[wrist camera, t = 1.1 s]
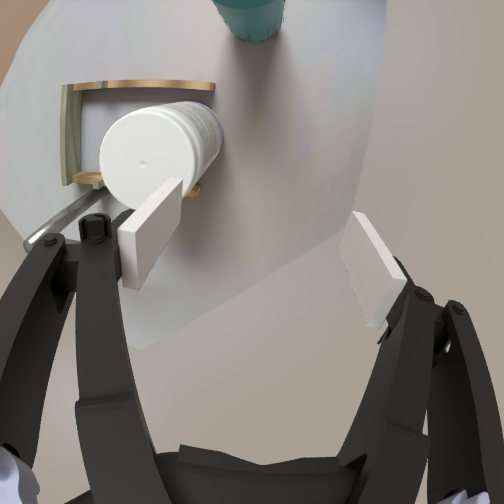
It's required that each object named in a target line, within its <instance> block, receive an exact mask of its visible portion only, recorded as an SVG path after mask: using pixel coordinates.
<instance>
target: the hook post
mask: <svg viewBox="0 0 504 504" xmlns="http://www.w3.org/2000/svg"><path fill="white" fill-rule="evenodd" d="M108 193H109V190H108V188H107V187H106V186H103V187H101V188H100V189H92V190H90V191H89V192H87V193H86V194H84V195H83V196H81V197H80V198H79V199H77V200H76V201H74V202H73V203H72V204H70V205H69V206H67V207H66V208H65V209H63V210H62V211H61V212H59V213H58V214H57V215H55V216H54V217H53V218H52V219H50V220H49V221H48V222H46V223H45V224H44V225H43V226H41V227H40V228H39V229H38V230H37V231H35V232H34V233H33V234H32V235H30V236H29V237H28V238H27V239H26V240H25V241H24V242H23V246H24V249H25V251H26V252H27V254H29V252H30V251H31V250H32V248H33V247H34V245H35V244H36V242H37V241H38V240H39V239H40V238H41V237H43V236H44V235H46V234H49V233H59V232H61V231H62V230H63V229H64V228H65V227H66V226H68V225H69V224H70V223H71V222H72V221H74V220H75V219H76V218H77V217H78V216H80V215H81V214H82V213H83V212H85V211H86V210H87V209H88V208H90V207H91V206H92V205H93V204H95V203H96V202H97V201H99V200H100V199H101V198H103V197H104V196H105V195H107V194H108ZM65 241H66V244H78V243H81V242H80V241H75V240H71V239H66V238H65Z"/></svg>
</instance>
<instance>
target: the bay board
mask: <svg viewBox="0 0 504 504" xmlns="http://www.w3.org/2000/svg"><path fill="white" fill-rule="evenodd" d="M214 86H215V83H211V82H199V81H183V80H115V81H96V82H88V83H79V84H69V85H62V97H61V116H60V157H61V177H62V185H63V186H68V185H69V184H71V183H82V184H92V185H93V189H100V188H101V187H103V186H106V185H105V183H104V180H103V178H102V175H101V173H94V172H82V171H81V153H80V140H81V110H82V96H83V90H87V89H100V88H120V87H164V88H185V89H199V90H210V91H214ZM200 190H201V185H197V184H195V185H194V187H193V188H192V189H191V190H190V192H189V193H188V194H187V195H186V197H192V198H196V197H197V196H198V195H199V193H200Z"/></svg>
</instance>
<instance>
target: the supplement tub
mask: <svg viewBox="0 0 504 504" xmlns="http://www.w3.org/2000/svg"><path fill="white" fill-rule="evenodd" d="M222 139H223V133H222V127H221V124H220V121H219V119H218V118H217V116H216V115H215V113H214V112H213V111H212V110H211V109H209V108H208V107H206V106H205V105H203V104H200V103H197V102H191V101H184V102H176V103H170V104H163V105H157V106H152V107H147V108H143V109H139V110H137V111H134V112H132V113H130V114H128V115H126V116H124V117H122V118H121V119H119V120H118V121H117V122H115V123H114V124H113V125H112V126H111V128H110V129H109V130H108V132H107V133H106V135H105V137H104V139H103V142H102V145H101V149H100V155H99V163H100V171H101V175H102V178H103V180H104V183H105V185H106V187H107V188H108V190H109V191H110V193H111V194H112V195H113V196H114V197H115V198H116V199H117V200H118V201H119V202H120V203H122V204H123V205H125V206H127V207H129V208H131V209H134V210H137V209H138V208H139V207H140V206H141V205H142V204H143V203H144V202H145V201H146V200H147V199H148V198H149V197H150V196H151V195H152V194H153V193H154V192H155V191H156V190H157V189H158V188H160V187H161V186H162V185H163V184H164V183H165V182H166V181H167V180H168V179H169V178H170V177H173V178H180V179H183V189H182V199H183V198H184V197H185V196H186V195H187V194H188V193H189V192H190V190H191V189H192V188H193V187H194V185H195V184H196V183H197V181H198V180H199V179H200V177H201V176H202V175H203V173H204V172H205V171H206V169H207V168H208V167H209V166H210V164H211V163H212V162H213V160H214V159H215V158H216V157H217V155H218V153H219V151H220V149H221V145H222Z"/></svg>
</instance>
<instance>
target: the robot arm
mask: <svg viewBox="0 0 504 504" xmlns="http://www.w3.org/2000/svg"><path fill="white" fill-rule="evenodd" d="M182 189H183V179H180V178H173V177H170V178H169V179H168V180H167V181H166V182H165V183H164V184H163V185H162V186H161V187H160V188H158V189H157V190H156V191H155V192H154V193H153V194H152V195H151V196H150V197H149V198H148V199H147V200H146V201H145V202H144V203H143V204H142V205H141V206H140V207H139V208H138V209H137V210H134V209H129V210H126V211H124V212H122V213H121V214H120V215H119V216H118V217H117V218H115V219H114V220H113V221H112V222H111V218H110V216H108V215H107V214H103V213H93V214H89V215H86V216H84V217H82V218H81V219H80V220H79V222H78V223H79V231H80V238H81V243H78V244H66V241H65V237H64V235H62V234H61V233H49V234H46V235H44V236H43V237H41V238H40V239H39V240H38V241H37V242H36V244H35V245H34V247H33V248H32V250H31V251H30V252H29V254H28V255H27V257H26V258H25V260H24V261H23V263H22V264H21V266H20V268H19V269H18V271H17V272H16V274H15V276H14V277H13V279H12V280H11V282H10V284H9V285H8V287H7V289H6V291H5V292H4V294H3V296H2V298H1V299H0V504H38V502H37V495H38V494H39V492H40V486H39V484H38V482H37V480H36V477H35V475H34V473H33V471H32V470H31V469H32V467H33V463H34V459H35V455H36V451H37V445H38V439H39V431H40V424H41V417H42V411H43V405H44V400H45V395H46V390H47V385H48V381H49V377H50V372H51V368H52V364H53V360H54V357H55V353H56V349H57V346H58V342H59V339H60V336H61V332H62V329H63V326H64V323H65V320H66V317H67V314H68V311H69V308H70V305H71V303H72V300H73V297H74V294H75V292H76V361H77V375H78V386H79V400H78V401H76V403H75V417H76V424H77V430H78V436H79V441H80V447H81V452H82V456H83V461H84V465H85V469H86V474H87V477H88V481H89V485H90V488H91V489H90V490H88V491H87V492H85V493H83V494H81V495H80V496H78V497H76V498H74V499H72V500H70V501H68V502H66V503H65V504H415V501H416V497H417V494H418V491H419V488H420V485H421V481H422V478H423V474H424V470H425V466H426V463H427V459H428V475H427V476H428V477H427V501H428V504H504V440H503V433H502V427H501V421H500V416H499V411H498V406H497V402H496V397H495V393H494V389H493V385H492V382H491V377H490V374H489V370H488V367H487V364H486V360H485V358H484V354H483V351H482V348H481V345H480V342H479V340H478V337H477V334H476V331H475V329H474V326H473V323H472V321H471V318H470V316H469V313H468V312H467V310H466V308H464V306H463V305H462V304H461V303H459V302H457V301H454V300H449V301H448V303H447V304H446V306H445V307H441V306H439V305H436V304H434V298H433V296H432V295H431V294H430V293H429V292H428V291H427V290H425V289H423V288H421V287H419V286H415V284H414V282H413V281H412V279H411V278H410V276H409V275H408V274H407V271H406V270H405V269H404V267H403V265H402V264H401V262H400V261H399V260H398V259H397V258H396V257H395V256H392V255H391V253H390V252H389V250H388V248H387V247H386V245H385V244H384V243H383V241H382V240H381V238H380V237H379V235H378V233H377V232H376V231H375V229H374V228H373V226H372V225H371V223H370V222H369V220H368V219H367V218H366V216H365V215H364V214H363V213H359V212H355V211H352V213H351V216H350V219H349V222H348V225H347V228H346V231H345V234H344V236H343V239H342V242H341V245H340V247H339V250H338V251H339V253H340V256H341V259H342V261H343V264H344V266H345V269H346V272H347V274H348V277H349V280H350V283H351V285H352V288H353V291H354V294H355V296H356V299H357V302H358V305H359V308H360V311H361V314H362V317H363V320H364V323H365V326H366V327H369V328H381V326H382V324H383V323H384V321H385V319H386V320H387V322H388V325H389V326H388V327H387V329H386V330H385V332H384V334H383V335H382V337H381V338H380V340H379V341H378V343H377V344H380V343H381V346H380V349H379V352H378V356H377V359H376V362H375V365H374V368H373V371H372V374H371V377H370V379H369V382H368V385H367V388H366V391H365V393H364V396H363V398H362V401H361V404H360V406H359V409H358V411H357V414H356V416H355V418H354V421H353V423H352V426H351V428H350V430H349V433H348V435H347V437H346V439H345V441H344V443H343V446H342V447H341V450H340V451H339V453H338V455H337V456H336V457H316V458H299V459H295V460H290V461H285V462H280V463H275V464H269V465H258V464H255V463H252V462H249V461H246V460H243V459H240V458H237V457H234V456H231V455H228V454H226V453H223V452H220V451H213V450H207V449H202V448H196V447H191V446H186V445H181V444H180V448H179V452H166V453H159V454H157V453H156V451H155V447H154V445H153V442H152V439H151V437H150V433H149V431H148V427H147V424H146V421H145V417H144V414H143V411H142V407H141V403H140V400H139V396H138V392H137V388H136V384H135V380H134V376H133V372H132V367H131V363H130V358H129V353H128V348H127V343H126V337H125V332H124V326H123V320H122V313H121V306H120V299H119V291H118V284H117V282H118V281H119V279H120V278H121V276H122V283H123V287H126V288H130V289H134V290H138V291H139V290H140V288H141V286H142V285H143V283H144V281H145V279H146V278H147V276H148V274H149V272H150V271H151V269H152V267H153V266H154V264H155V262H156V260H157V259H158V257H159V255H160V254H161V252H162V251H163V249H164V247H165V246H166V244H167V242H168V241H169V239H170V237H171V236H172V234H173V233H174V231H175V230H176V228H177V226H178V225H179V223H180V217H181V202H182ZM450 342H451V345H450V349H449V351H448V352H446V347H447V346H448V345H449V344H450ZM426 408H427V419H428V436H427V435H424V434H423V433H422V430H423V424H424V420H425V414H426Z"/></svg>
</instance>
